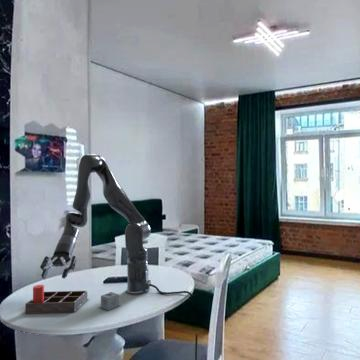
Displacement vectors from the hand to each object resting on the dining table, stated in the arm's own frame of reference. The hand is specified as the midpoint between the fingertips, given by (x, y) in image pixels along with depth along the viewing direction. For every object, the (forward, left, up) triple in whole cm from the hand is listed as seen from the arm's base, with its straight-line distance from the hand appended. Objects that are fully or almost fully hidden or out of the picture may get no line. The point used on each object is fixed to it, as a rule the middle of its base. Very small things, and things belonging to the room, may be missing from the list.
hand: (53, 277), depth 138 cm
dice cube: (-28, +10, -10) cm, 31 cm away
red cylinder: (0, +11, -9) cm, 14 cm away
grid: (-6, +8, -9) cm, 14 cm away
